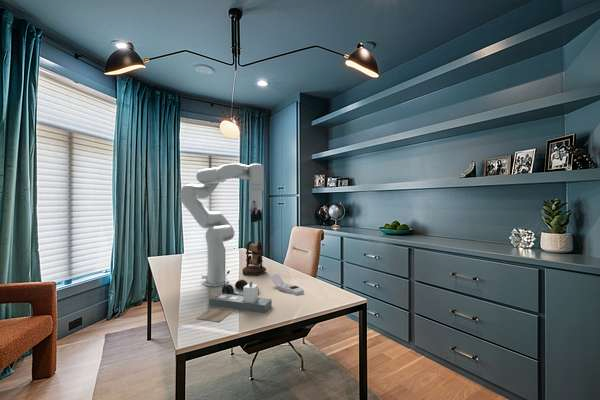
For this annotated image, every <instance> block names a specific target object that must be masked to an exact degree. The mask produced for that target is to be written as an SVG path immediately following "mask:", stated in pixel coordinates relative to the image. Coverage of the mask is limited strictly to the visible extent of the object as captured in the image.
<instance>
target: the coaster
mask: <svg viewBox="0 0 600 400" xmlns="http://www.w3.org/2000/svg"><path fill="white" fill-rule="evenodd" d="M231 313H234V312H233V310H231V309H230V310H228V309H222V308H221V309H220V308H214V307H213V308H212V307H211V308H209V309H208V310H207V311H205V312H203V313H202V314H201V315H199V316H197V317H196V318H195V319H196V320H200V321H208V322H214V323H221V321H223V320H224V319H225V318H227V317H228V316H229V315H231Z"/></svg>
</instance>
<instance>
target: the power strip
mask: <svg viewBox="0 0 600 400" xmlns="http://www.w3.org/2000/svg"><path fill="white" fill-rule="evenodd" d="M240 295H241V294H240ZM240 295H231V294H222V292H221V293H220V292H218V293H216V294H214V295H212V296H211V297H209V298H208V306H209V307H218V308H224V309H225V308H226V309H230V310H231V309H232V310H233V309H234V310H238V311H239V310H240V311H247V312H255V313H263V314H265V313H267V311H269V309H271V307H272V298H266V297H264V298H263V297H258V301H257V302H255V303H246V302H243V296H240Z"/></svg>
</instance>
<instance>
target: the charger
mask: <svg viewBox="0 0 600 400" xmlns="http://www.w3.org/2000/svg"><path fill="white" fill-rule="evenodd" d="M258 289H259V284H255V283H253V281H249V283H248V284H247V285H246V286H244V287H243V290H242V291H243V294H242V295H243V302H246V303H255V302H257V301H258V298H259V294H258Z"/></svg>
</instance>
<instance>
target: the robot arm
mask: <svg viewBox="0 0 600 400" xmlns="http://www.w3.org/2000/svg"><path fill="white" fill-rule="evenodd" d="M195 178H196V179H197V182H198V184H197V183H190V184H189V183H188V184H185V185H183V186H182V187H181V189H180V193H179V196H180V200H181V203H182V204H183V206H184V207H185V208H186V210H187V211H188V212H189V213H190V215H191V216H192V217H193V219H194V220H195V221H196V223H197V224H198V225H199V226H200V228H201V229H207V230H206V232H205V241H206V247H207V248H206V249H207V251H206V253H207V271H206V272H207V274H205V273H202V276H201V278H202V279H203V280H205V281H204V285H205V286H207V287H221V286H222V287H223V286H224V280H225V285H228V284H229V279H228V278H227V277H226V247H225V245H224V242H229V241H231V240H232V239H233V238H234V236H235V230H234V227H233V226H232V225H231V223H230V222H229V221H228V219H227V218H226V217H225V215H224V214H223V213H221V212H220V211H217V210H216V211H215V210H211V211H210V210H209V209H208V208H207V207H206V206H205V204H204V203H203V202H202V201H200V200H205V199H207V198H209V197H210V196H211V195H212V193H214V190H215V189H216V188H217V187H218V186H219V184H220V183H224V182H226V180H229V179H240V180H248V191H249V196H248V198H249V199H248V210H250V222H251V223H257V222H258V221H260V222H261V221H263V192H264V189H265V188H264V187H265V185H264V180H265V179H264V165H262V164H260V163H251V164H250V165H247V164H243V163H228V164H222V165H221V166H218V167H211V168H210V167H209V168H203V169H201V170H200V169H199V170H198V172H197V173H196V177H195ZM199 183H201V184H199ZM199 199H200V200H199ZM225 277H226V278H225ZM202 279H201V280H202Z"/></svg>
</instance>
